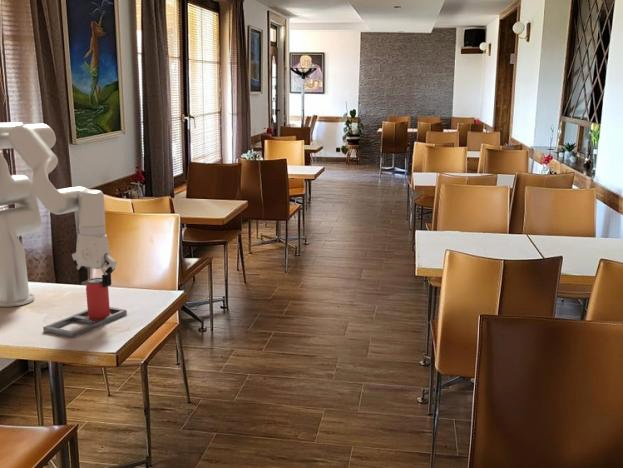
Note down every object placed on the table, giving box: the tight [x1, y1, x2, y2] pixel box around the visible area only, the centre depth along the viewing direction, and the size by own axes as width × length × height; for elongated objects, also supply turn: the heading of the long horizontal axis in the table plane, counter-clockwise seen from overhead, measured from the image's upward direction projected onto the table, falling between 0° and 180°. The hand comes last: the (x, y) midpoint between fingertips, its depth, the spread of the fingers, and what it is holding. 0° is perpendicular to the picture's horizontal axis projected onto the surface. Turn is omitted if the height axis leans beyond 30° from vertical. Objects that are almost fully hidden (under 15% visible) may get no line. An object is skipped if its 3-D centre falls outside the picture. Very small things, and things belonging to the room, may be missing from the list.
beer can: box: [85, 277, 111, 319], centre depth 198 cm, size 7×7×12 cm
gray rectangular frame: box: [42, 306, 128, 339], centre depth 194 cm, size 12×23×2 cm, turn 154°
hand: (95, 283), depth 198 cm, fingers open, 9 cm apart
